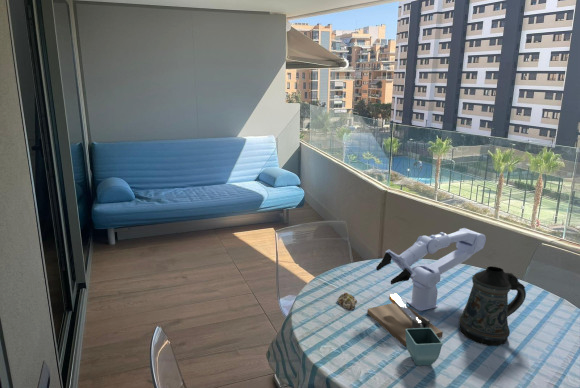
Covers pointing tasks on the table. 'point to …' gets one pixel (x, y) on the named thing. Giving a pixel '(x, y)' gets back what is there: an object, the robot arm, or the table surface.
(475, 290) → the beer stein
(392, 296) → the press lever
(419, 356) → the flower pot
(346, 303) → the mineral rock
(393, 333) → the base
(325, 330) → the table surface
